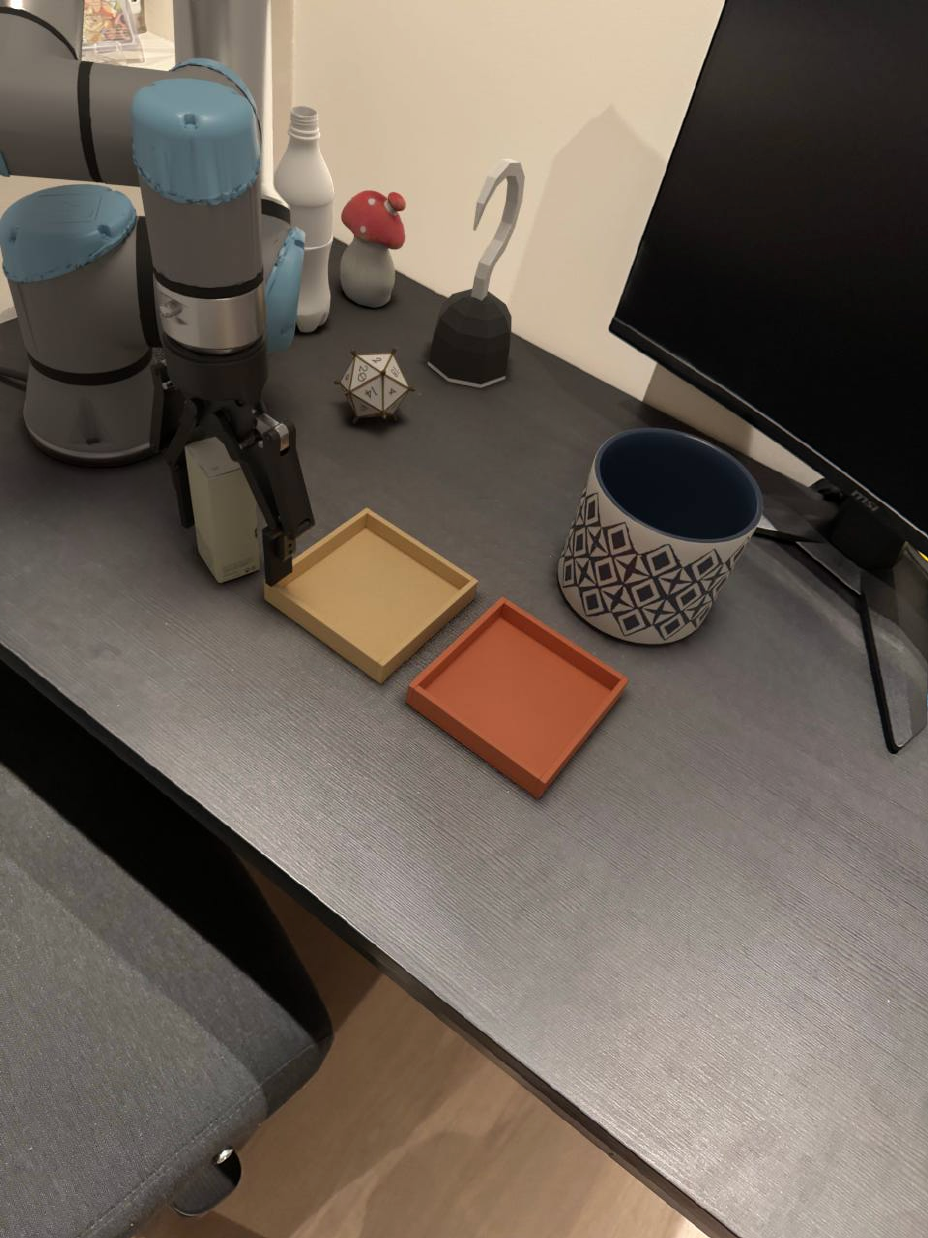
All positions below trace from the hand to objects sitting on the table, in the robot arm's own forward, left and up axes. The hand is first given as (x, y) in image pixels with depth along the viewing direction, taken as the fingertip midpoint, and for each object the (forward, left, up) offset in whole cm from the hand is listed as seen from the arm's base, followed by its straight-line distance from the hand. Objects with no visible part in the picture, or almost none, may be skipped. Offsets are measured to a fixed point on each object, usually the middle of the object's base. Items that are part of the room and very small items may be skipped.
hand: (236, 548), depth 78 cm
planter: (+30, +26, -3) cm, 40 cm away
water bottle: (-26, +36, -3) cm, 45 cm away
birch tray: (+12, +6, -3) cm, 13 cm away
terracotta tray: (+29, +6, -3) cm, 29 cm away
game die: (-7, +28, -3) cm, 29 cm away
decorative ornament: (-25, +48, -3) cm, 54 cm away
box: (-1, 0, -3) cm, 3 cm away
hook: (-6, +46, -3) cm, 47 cm away
